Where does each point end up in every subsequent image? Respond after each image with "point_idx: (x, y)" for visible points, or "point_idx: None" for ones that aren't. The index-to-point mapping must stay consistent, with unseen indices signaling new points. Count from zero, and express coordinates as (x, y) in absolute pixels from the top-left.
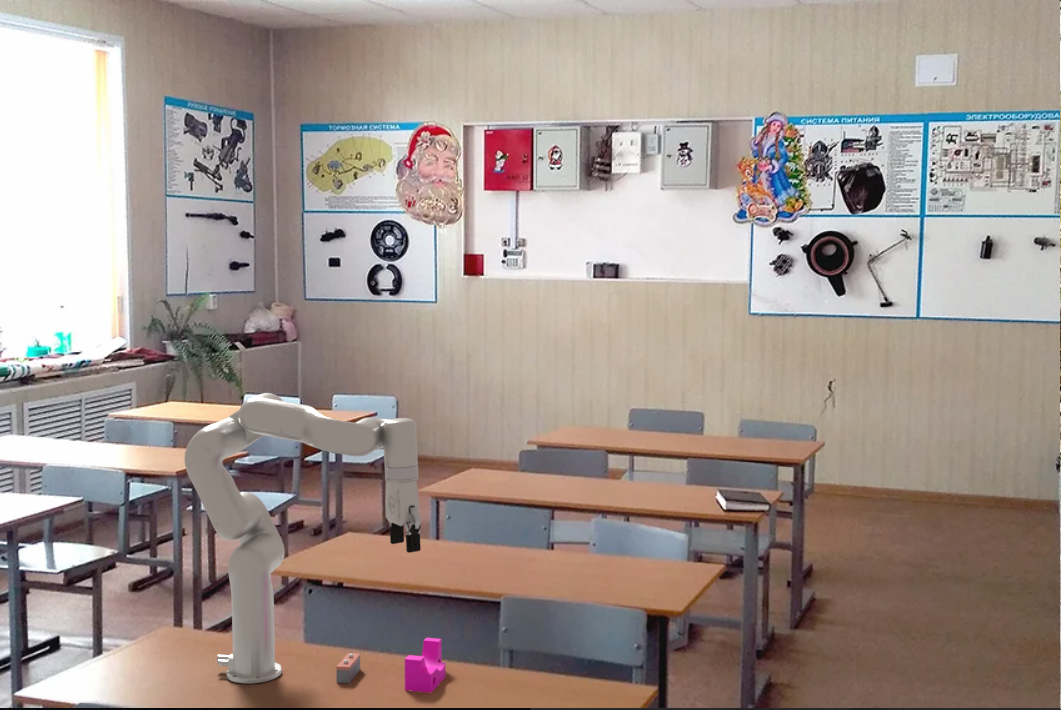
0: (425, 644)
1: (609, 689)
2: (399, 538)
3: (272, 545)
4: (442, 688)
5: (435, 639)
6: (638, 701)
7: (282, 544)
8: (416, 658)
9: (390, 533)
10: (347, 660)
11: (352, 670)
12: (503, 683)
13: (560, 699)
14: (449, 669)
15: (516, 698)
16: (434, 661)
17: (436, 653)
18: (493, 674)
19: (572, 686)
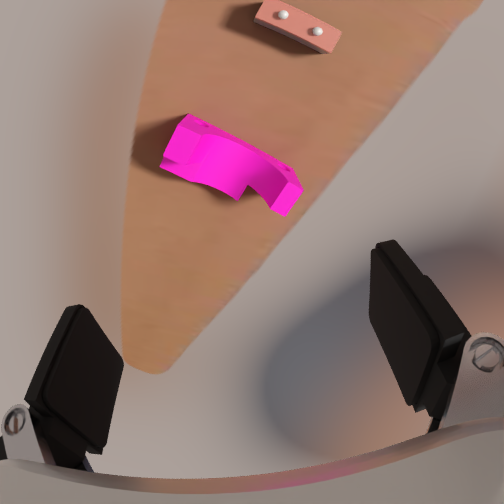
0: (283, 181)
1: (154, 352)
2: (379, 315)
3: None
4: None
5: (286, 205)
6: None
7: None
8: (175, 149)
9: (421, 291)
10: (282, 17)
11: (276, 28)
12: (188, 264)
13: (126, 309)
14: None
15: (131, 267)
16: (249, 183)
17: (261, 193)
18: (228, 259)
19: (166, 328)
